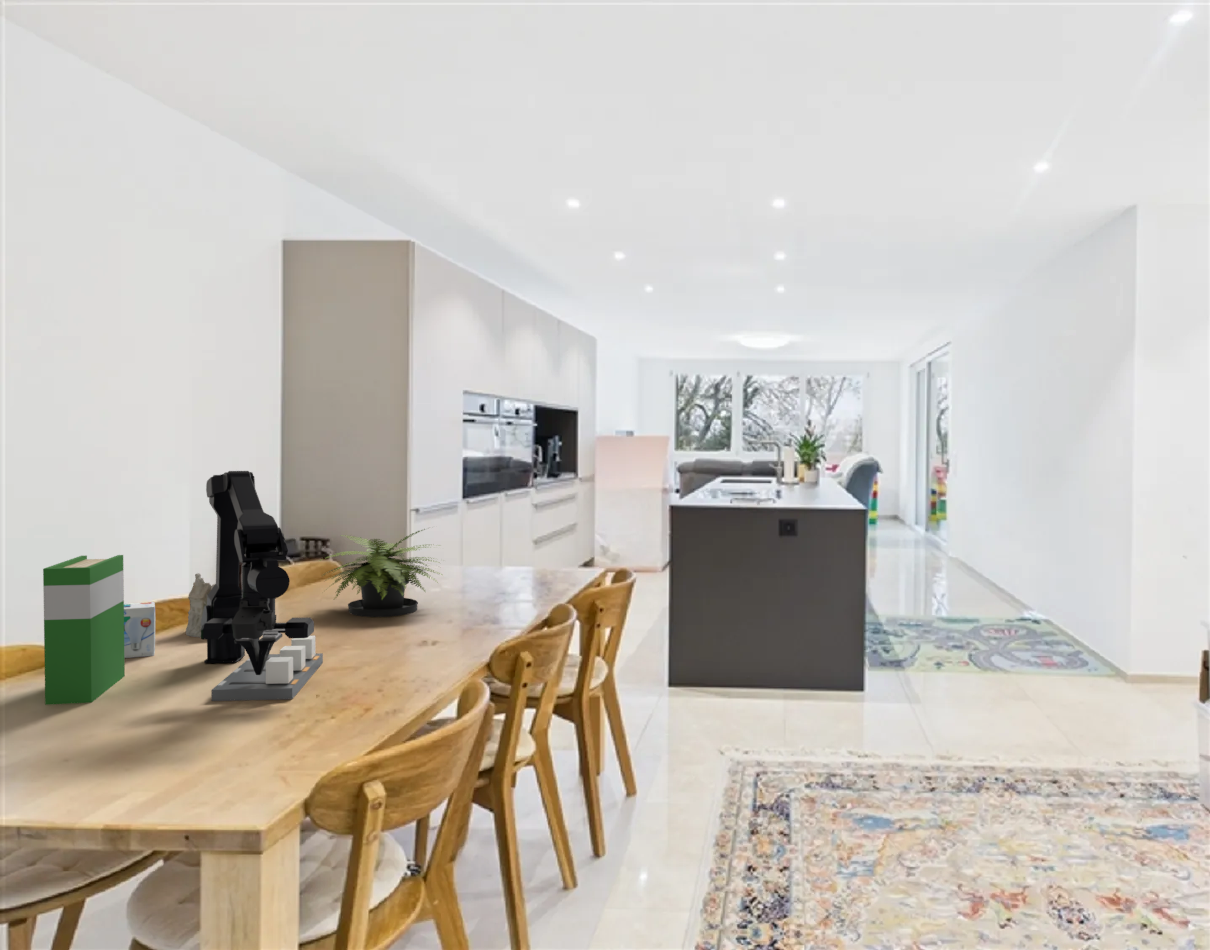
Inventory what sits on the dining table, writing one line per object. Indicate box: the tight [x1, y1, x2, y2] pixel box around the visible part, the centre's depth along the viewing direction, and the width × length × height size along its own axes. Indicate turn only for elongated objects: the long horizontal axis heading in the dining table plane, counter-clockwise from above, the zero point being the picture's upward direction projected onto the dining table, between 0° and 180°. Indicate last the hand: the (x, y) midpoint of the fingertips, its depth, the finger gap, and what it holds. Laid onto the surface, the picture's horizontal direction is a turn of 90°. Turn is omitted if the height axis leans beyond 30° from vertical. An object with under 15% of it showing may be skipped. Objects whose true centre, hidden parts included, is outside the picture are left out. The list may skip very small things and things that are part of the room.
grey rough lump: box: [185, 572, 216, 638], centre depth 214 cm, size 16×16×15 cm
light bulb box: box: [124, 601, 156, 659], centre depth 189 cm, size 11×7×11 cm, turn 117°
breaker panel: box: [210, 652, 324, 702], centre depth 170 cm, size 14×26×2 cm, turn 6°
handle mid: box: [279, 645, 305, 671], centre depth 170 cm, size 4×4×4 cm
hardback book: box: [42, 554, 126, 706], centre depth 162 cm, size 18×7×24 cm, turn 12°
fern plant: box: [318, 526, 445, 618], centre depth 240 cm, size 37×39×24 cm
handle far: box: [290, 635, 316, 659], centre depth 179 cm, size 4×4×4 cm
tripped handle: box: [266, 657, 293, 684], centre depth 161 cm, size 4×4×4 cm
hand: (258, 674), depth 161 cm, fingers closed
